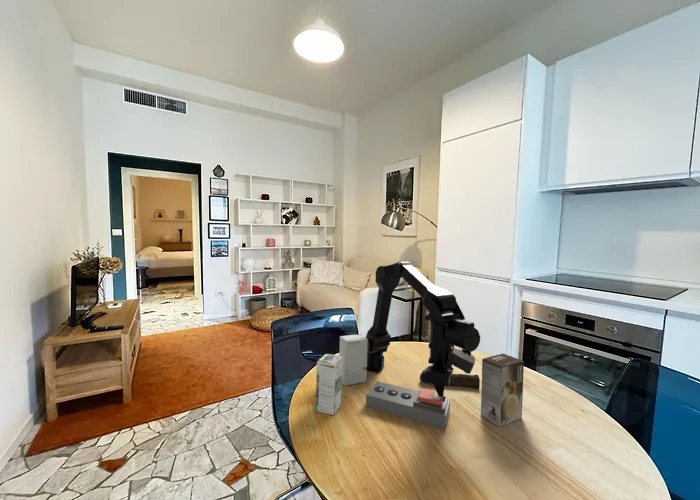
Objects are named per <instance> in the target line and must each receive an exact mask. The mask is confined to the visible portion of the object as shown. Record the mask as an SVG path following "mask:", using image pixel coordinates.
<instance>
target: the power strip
mask: <svg viewBox="0 0 700 500" xmlns="http://www.w3.org/2000/svg"><path fill="white" fill-rule="evenodd" d="M421 390H422V389H418V390H416V389H412V388H408V387H403V386H400V385H396V384H391V383H386V382H382V381H379V380H378V381H376V382H375V383H374V384H373V386H372V387H371V388H370V389H369V390H368V392H367V393H366V394H365V407H366V408H369V409H373V410H377V411H380V412H383V413H388V414H391V415H395V416H398V417H402V418H404V419H408V420H412V421H415V422H420V423H423V424H425V425H426V424H427V425H430V426H433V427H437V428H440V429H444V430H445V429H446V428H447V424H448V419H449V415H450V412H451V398H449V396H448V395H446V394H444V398H443V402H442V405H441V406H439V405H434V404H430V403H425V402H420V401H418V396H419V394H420V392H421Z"/></svg>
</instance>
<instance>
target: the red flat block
mask: <svg viewBox="0 0 700 500" xmlns="http://www.w3.org/2000/svg"><path fill="white" fill-rule="evenodd" d="M420 390H421V392H420V394H419V396H418V401H420V402H425V403H430V404H434V405H439V406H441V405H442V402H443V398H444V395H445V392H444V393H443V397H439V396H438V394H437V392H436V390H433V389H427V388H421V389H420Z"/></svg>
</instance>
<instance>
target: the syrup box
mask: <svg viewBox="0 0 700 500" xmlns="http://www.w3.org/2000/svg"><path fill="white" fill-rule="evenodd" d="M342 371H343V357H340V356H339V355H336V354H332V353H331V354H330V353H325V354H324V355H323V356H322V357H321V358H319V359H318V360H317V361H316V383H315V385H316V386H315V387H316V388H315V411H316V412H319V413H322V414H327V415H332V416H335V414H336V413H337V412H338V410H339V409H340V407H341V406H342V402H343V401H342V398H343V397H342V395H343V383H342Z"/></svg>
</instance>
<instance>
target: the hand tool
mask: <svg viewBox="0 0 700 500" xmlns="http://www.w3.org/2000/svg"><path fill="white" fill-rule="evenodd" d="M424 370H425V369H422V372H421V373H420V376H419V381H420V382H421V383H424V382H423V372H424ZM451 374H452V376H451V379H450V383H449V385H456V386H465V387H473V388H474V387H475V388H476V389H477V390H479V389H480V387H481V386H480V383H481V380H480V376H479V375H478V374H472V375H471V374H467V373H451Z"/></svg>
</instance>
